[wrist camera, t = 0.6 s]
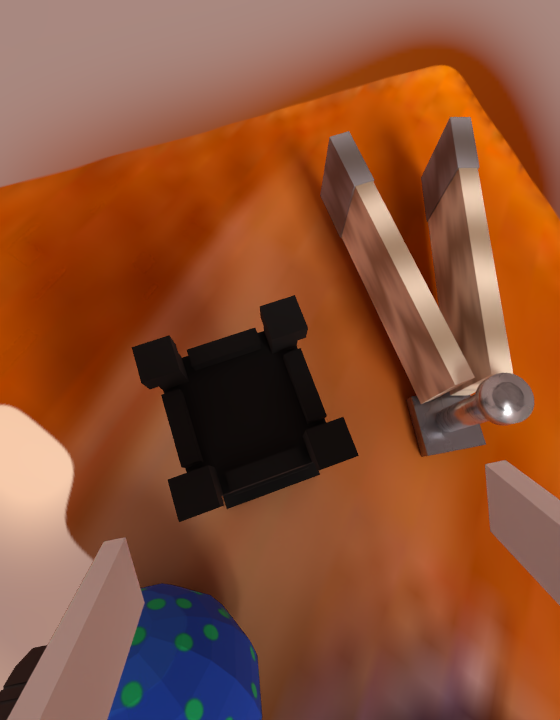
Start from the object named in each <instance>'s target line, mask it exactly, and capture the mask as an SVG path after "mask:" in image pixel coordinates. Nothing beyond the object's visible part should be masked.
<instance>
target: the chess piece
mask: <svg viewBox="0 0 560 720" xmlns="http://www.w3.org/2000/svg"><path fill="white" fill-rule="evenodd" d="M260 315H261V319H262V322H263V325H264V331H263V332H260V333H257V331H256V329H255V328H252V329H249V330H246V331H243V332H240V333H237V334H234V335H231V336H228V337H225V338H222V339H219V340H216V341H212V342H209V343H206V344H203V345H200V346H197V347H194V348H191V349H188V350H187V352H188V355H189V356H186V357H183V358H182V357H181V356H180V355H179V353H178V351H177V347H176V344H175V343H174V341H173V340H172V339H171V337H170V336H166V337H163V338H160V339H157V340H153V341H150V342H147V343H144V344H141V345H138V346H135V347H132V350H133V354H134V357H135V361H136V365H137V368H138V372H139V376H140V379H141V383H142V384H144V385H145V386H146V387H147V388H149V389H152V388H155V387H158V386H159V387H160V388H161V389H162V390H163V391H164V394H162V395H161V396H162V400H163V403H164V407H165V410H166V414H167V417H168V421H169V425H170V428H171V432H172V435H173V439H174V442H175V446H176V449H177V453H178V457H179V460H180V464H181V467H183V468H186V472H187V473H185V474H182V475H179V476H177V477H174V478H171V479H168V483H169V487H170V491H171V494H172V498H173V502H174V506H175V509H176V513H177V517H178V520H179V522H181V521H184V520H186V519H189V518H192V517H194V516H197V515H200V514H202V513H205V512H208V511H211V510H213V509H216V508H219V507H221V506H224V503H223V500H222V497H221V496H223V498H224V501H225V504H226V507H227V509H228V508H231V507H234V506H237V505H239V504H242V503H245V502H247V501H250V500H253V499H255V498H258V497H261V496H263V495H266V494H269V493H272V492H274V491H277V490H280V489H282V488H285V487H288V486H290V485H293V484H296V483H298V482H301V481H304V480H306V479H309V478H312V477H315V476H317V475H320V473H319V471H318V470H321V469H324V468H327V467H329V466H332V465H335V464H337V463H340V462H343V461H346V460H348V459H351V458H354V457H356V456H359V455H358V453H357V450H356V448H355V445H354V443H353V440H352V438H351V435H350V433H349V430H348V428H347V425H346V423H345V420H344V417H341V418H339V419H336V420H333V421H330V422H327V423H326V421H325V419H324V418H325V417H326V416H327V415H326V413H325V410H324V407H323V405H322V402H321V400H320V397H319V395H318V392H317V389H316V387H315V384H314V382H313V379H312V376H311V374H310V371H309V369H308V366H307V364H306V361H305V358H304V356H303V353H302V351H301V348H300V349H298V348H297V340H300V339H303V338H306V334H307V330H308V327H307V325H306V322H305V319H304V317H303V314H302V312H301V309H300V307H299V304H298V302H297V299H296V297H295V295H294V296H291V297H288V298H285V299H282V300H278V301H275V302H272V303H269V304H266V305H263V306H260Z"/></svg>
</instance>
